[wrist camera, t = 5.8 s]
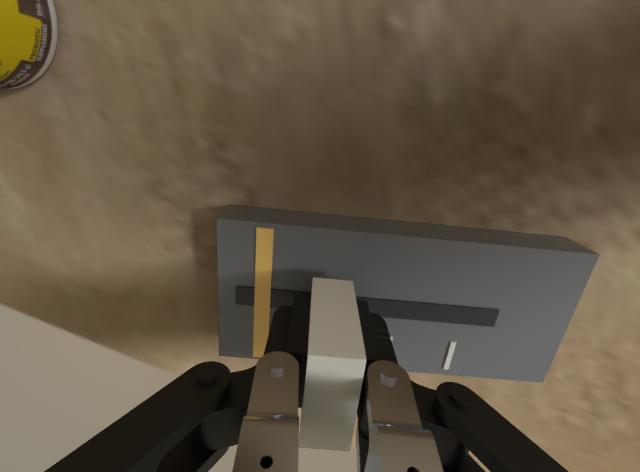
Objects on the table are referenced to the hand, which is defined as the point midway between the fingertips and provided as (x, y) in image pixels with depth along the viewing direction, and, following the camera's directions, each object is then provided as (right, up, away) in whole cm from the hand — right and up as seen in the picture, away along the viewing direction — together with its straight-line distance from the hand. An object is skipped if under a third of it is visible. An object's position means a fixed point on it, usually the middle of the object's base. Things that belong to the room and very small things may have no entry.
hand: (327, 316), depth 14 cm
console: (+3, +1, +3) cm, 4 cm away
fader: (0, 0, +1) cm, 1 cm away
